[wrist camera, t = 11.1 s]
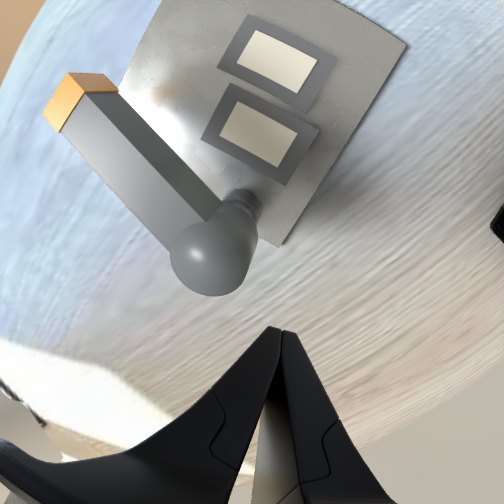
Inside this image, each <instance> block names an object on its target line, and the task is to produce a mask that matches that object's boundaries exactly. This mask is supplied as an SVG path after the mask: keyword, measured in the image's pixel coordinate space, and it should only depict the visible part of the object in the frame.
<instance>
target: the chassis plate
mask: <svg viewBox="0 0 504 504" xmlns="http://www.w3.org/2000/svg"><path fill="white" fill-rule="evenodd" d="M247 14H250V15H252V16H255V17H257V18H259V19H262V20H264V21H266V22H268V23H271V24H273V25H275V26H277V27H279V28H282V29H284V30H286V31H288V32H290V33H292V34H294V35H296V36H298V37H300V38H302V39H304V40H306V41H308V42H310V43H312V44H314V45H316V46H317V47H319V48H321V49H323V50H325V51H327V52H328V53H330V54H332V55H334V56H335V57H337V58H339V59H338V61H337V63H336V64H335V66H334V67H333V69H332V71H331V72H330V74H329V76H328V77H327V79H326V81H325V82H324V84H323V85H322V87H321V89H320V90H319V92H318V94H317V95H316V97H315V99H314V100H313V102H312V104H311V105H310V107H309V109H308V110H307V112H306V113H304V112H302V111H300V110H299V109H297V108H295V107H293V106H292V105H290V104H288V103H286V102H284V101H283V100H281V99H279V98H277V97H275V96H273V95H271V94H269V93H267V92H266V91H264V90H262V89H260V88H258V87H256V86H254V85H252V84H250V83H248V82H246V81H244V80H242V79H239V78H237V77H235V76H233V75H231V74H229V73H227V72H225V71H222V70H220V69H218V68H216V67H217V65H218V63H219V62H220V60H221V58H222V56H223V54H224V53H225V51H226V49H227V47H228V46H229V44H230V42H231V41H232V39H233V37H234V35H235V34H236V32H237V30H238V29H239V27H240V25H241V24H242V22H243V21H244V19H245V17H246V16H247ZM405 47H406V44H405V43H403V42H402V41H400V40H399V39H397V38H396V37H394V36H393V35H391V34H390V33H388V32H387V31H385V30H384V29H382V28H381V27H379V26H377V25H376V24H374V23H373V22H371V21H369V20H368V19H366V18H364V17H362V16H361V15H359V14H357V13H356V12H354V11H352V10H350V9H348V8H347V7H345V6H343V5H341V4H339V3H337V2H335V1H333V0H162V2H161V4H160V5H159V7H158V9H157V11H156V12H155V14H154V16H153V18H152V20H151V22H150V23H149V25H148V27H147V29H146V31H145V33H144V35H143V37H142V39H141V41H140V43H139V45H138V47H137V49H136V51H135V53H134V55H133V57H132V60H131V62H130V64H129V66H128V68H127V70H126V73H125V75H124V77H123V80H122V82H121V84H120V87H119V90H120V91H119V92H118V93H119V94H120V95H121V96H122V97H123V98H124V99H125V100H126V101H127V102H128V103H129V104H130V105H131V106H132V107H133V108H134V110H135V111H136V112H137V113H138V114H139V115H140V116H141V117H142V118H143V119H144V120H145V121H146V122H147V123H148V124H149V125H150V126H151V127H152V128H153V129H154V130H155V131H156V132H157V134H158V135H159V136H160V137H161V138H162V139H163V140H164V141H165V142H166V143H167V144H168V145H169V146H170V147H171V148H172V149H173V150H174V151H175V152H176V153H177V155H178V156H179V157H180V158H181V159H182V160H183V161H184V162H185V163H186V164H187V165H188V166H189V167H190V168H191V169H192V170H193V171H194V172H195V174H196V175H197V176H198V177H199V178H200V179H201V180H202V181H203V182H204V183H205V184H206V185H207V186H208V187H209V188H210V189H211V190H212V192H213V193H214V194H215V195H216V196H217V197H218V198H219V199H220V200H221V201H222V202H224V203H230V204H234V205H236V206H238V207H240V208H242V209H243V210H245V211H246V212H247V213H248V214H249V215H250V216H251V218H252V219H253V221H254V223H255V225H256V228H257V232H258V237H260V238H262V239H264V240H265V241H267V242H269V243H271V244H272V245H274V246H276V247H278V248H279V247H280V245H281V244H282V242H283V241H284V239H285V238H286V236H287V235H288V233H289V232H290V230H291V229H292V227H293V225H294V224H295V222H296V221H297V219H298V218H299V216H300V215H301V213H302V212H303V210H304V208H305V207H306V205H307V204H308V202H309V201H310V199H311V198H312V196H313V195H314V193H315V191H316V190H317V188H318V187H319V185H320V184H321V182H322V180H323V179H324V177H325V176H326V174H327V173H328V171H329V169H330V168H331V166H332V165H333V163H334V162H335V160H336V158H337V157H338V155H339V154H340V152H341V151H342V149H343V147H344V146H345V144H346V143H347V141H348V139H349V138H350V136H351V135H352V133H353V131H354V130H355V128H356V127H357V125H358V123H359V122H360V120H361V119H362V117H363V115H364V114H365V112H366V111H367V109H368V107H369V106H370V104H371V102H372V101H373V99H374V98H375V96H376V94H377V93H378V91H379V89H380V88H381V86H382V85H383V83H384V81H385V80H386V78H387V76H388V75H389V73H390V71H391V70H392V68H393V67H394V65H395V63H396V62H397V60H398V58H399V57H400V55H401V53H402V52H403V50H404V48H405ZM229 83H232V84H234V85H236V86H238V87H240V88H242V89H244V90H246V91H248V92H250V93H252V94H254V95H256V96H258V97H260V98H262V99H264V100H266V101H268V102H269V103H271V104H273V105H275V106H277V107H279V108H281V109H282V110H284V111H286V112H288V113H290V114H291V115H293V116H295V117H297V118H298V119H300V120H302V121H304V122H305V123H307V124H309V125H310V126H312V127H314V128H316V129H317V130H319V132H318V134H317V135H316V137H315V139H314V140H313V142H312V144H311V145H310V147H309V148H308V150H307V152H306V153H305V155H304V157H303V158H302V160H301V162H300V163H299V165H298V166H297V168H296V170H295V171H294V173H293V175H292V176H291V178H290V180H289V181H288V183H287V185H286V186H284V185H282V184H280V183H278V182H277V181H275V180H273V179H271V178H270V177H268V176H266V175H264V174H263V173H261V172H259V171H257V170H256V169H254V168H252V167H250V166H248V165H247V164H245V163H243V162H241V161H239V160H237V159H236V158H234V157H232V156H230V155H228V154H226V153H225V152H223V151H221V150H219V149H217V148H215V147H213V146H211V145H209V144H208V143H206V142H204V141H202V140H200V139H201V137H202V135H203V133H204V131H205V129H206V127H207V125H208V123H209V121H210V119H211V117H212V115H213V113H214V111H215V109H216V107H217V105H218V103H219V102H220V100H221V98H222V96H223V94H224V92H225V90H226V88H227V87H228V85H229Z"/></svg>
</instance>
